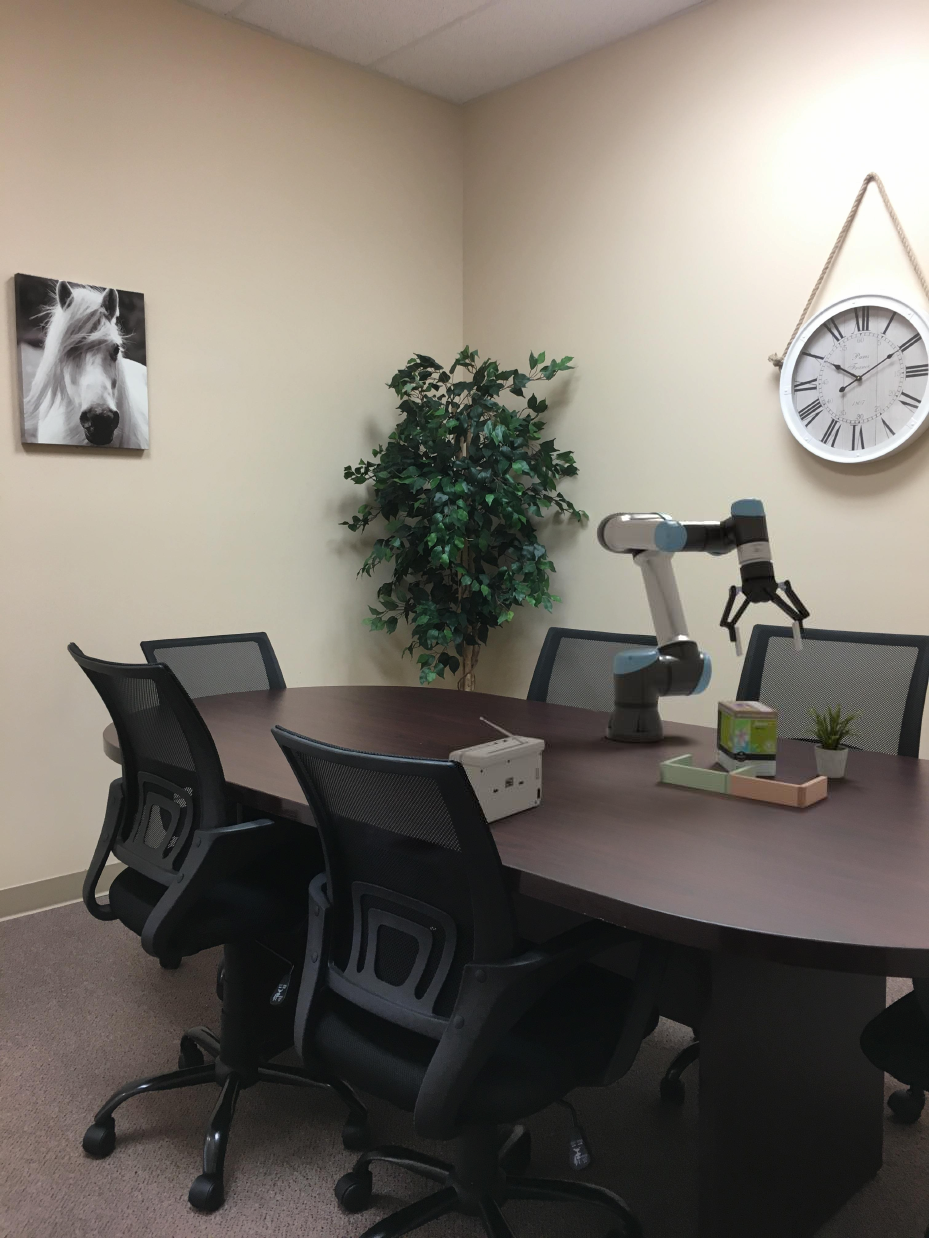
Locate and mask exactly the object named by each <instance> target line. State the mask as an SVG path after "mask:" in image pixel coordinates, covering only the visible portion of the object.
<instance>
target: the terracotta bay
mask: <svg viewBox="0 0 929 1238" xmlns="http://www.w3.org/2000/svg"><path fill="white" fill-rule="evenodd" d="M827 792H828V777H824V776H820V775H819V777H816V778H814V779H811V780H810V781H807V782H805V783H803V784H794V783H787V782H782V781H781V782H780V781H775V780H770V779H764V778H757V777H756V778H753V777H747V776H742V775H736V774H732V775H731V777H730V794H729V795H730V796H731V795H732V796H736V797H743V798H748V799H752V800H756V801H757V800H759V801H762V802H768V803H769V802H770V803H773V804H779V805H785V806H789V807H791V806H792V807H796V808H799V809H800V808H801V809H804V808H806V807H808V806H809V805H813V804H814V803H816V802H818V801H821V800H823V799H825V798H826V797H827V796H828V793H827Z"/></svg>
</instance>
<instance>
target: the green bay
mask: <svg viewBox="0 0 929 1238" xmlns="http://www.w3.org/2000/svg"><path fill="white" fill-rule="evenodd" d="M692 758H693V755H692V754H687V753H686V754H684V755H681V756H678V757H674V758H671V759H667V760H665V761H662V762H659V782H661V783H667V784H673V785H677V786H683V787H688V788H694V789H699V790H700V789H701V790H703V791H704V790H706V791H709V792H714V793H721V794H726V795H731V794H730V777H731V775H732V774H736V775H742V776H747V777H753V778H757V776H756V765H748V766H746V767H743V768H740V769H738V770H735V771H732V772H723V771H717V770H711V769H705V768H700V767H693V765H692V764H693V759H692Z"/></svg>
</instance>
